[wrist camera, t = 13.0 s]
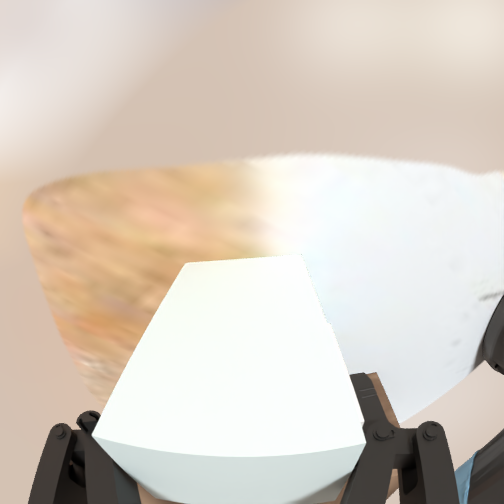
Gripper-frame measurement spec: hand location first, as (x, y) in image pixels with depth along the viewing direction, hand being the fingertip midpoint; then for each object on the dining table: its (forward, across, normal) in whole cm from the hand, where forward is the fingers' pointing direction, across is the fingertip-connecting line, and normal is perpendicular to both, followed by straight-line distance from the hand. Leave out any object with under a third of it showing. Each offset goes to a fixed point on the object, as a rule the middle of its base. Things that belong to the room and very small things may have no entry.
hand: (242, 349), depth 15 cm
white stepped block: (+6, 0, -8) cm, 10 cm away
